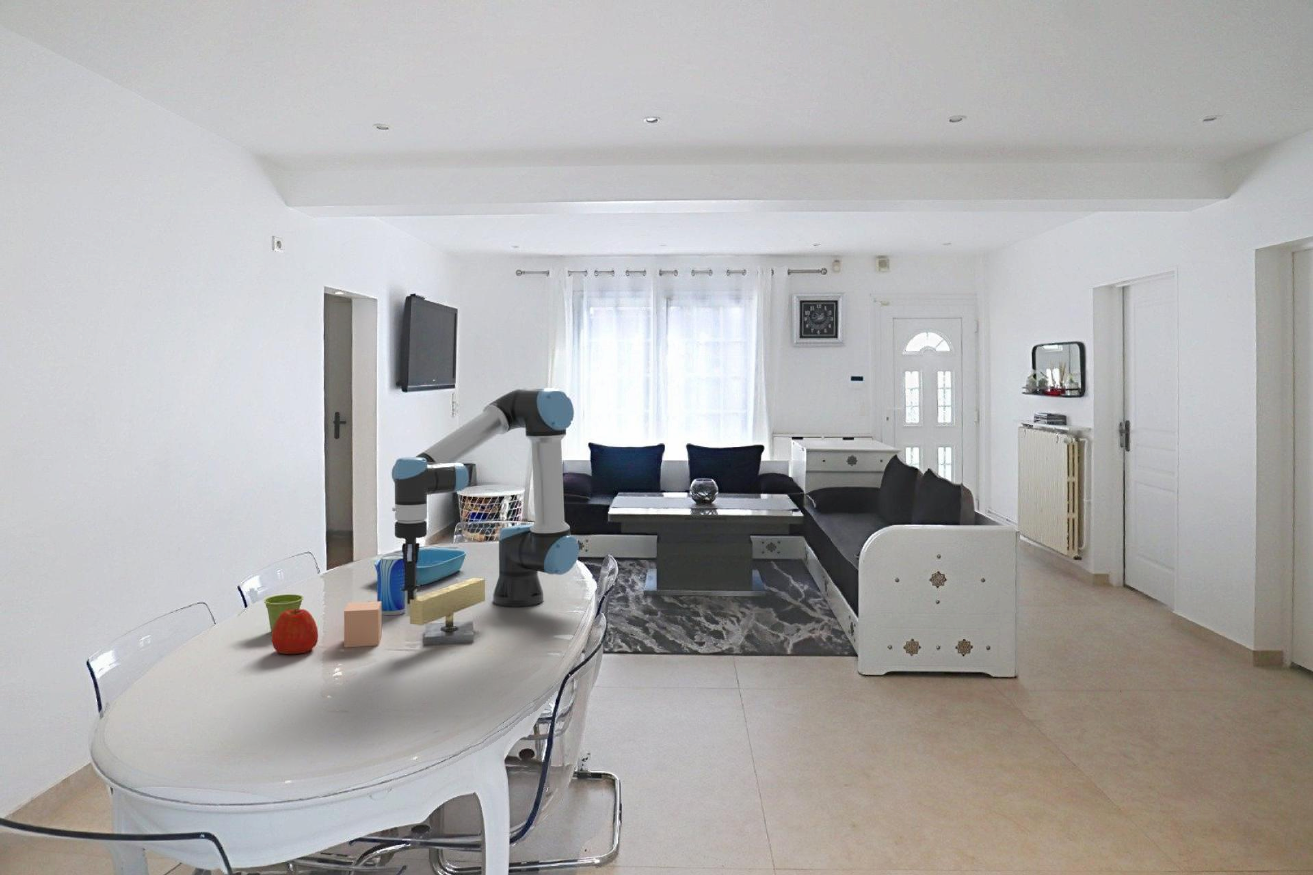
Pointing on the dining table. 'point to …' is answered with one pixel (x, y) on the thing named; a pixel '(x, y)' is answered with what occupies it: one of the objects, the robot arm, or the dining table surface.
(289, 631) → the apple
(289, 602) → the plant pot
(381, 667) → the dining table surface
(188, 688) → the dining table surface
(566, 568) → the robot arm
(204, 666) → the dining table surface
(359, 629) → the peach tan cube
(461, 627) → the grey square base plate
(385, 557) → the beer can
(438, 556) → the casserole dish
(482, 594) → the yellow t-shaped bar
